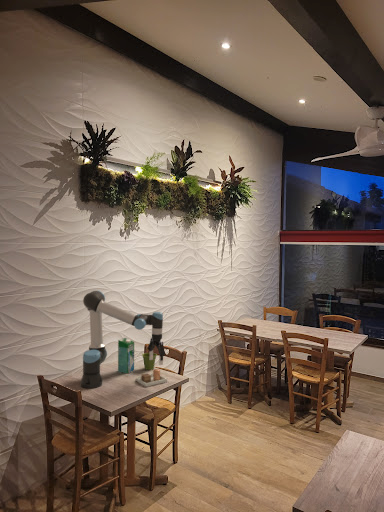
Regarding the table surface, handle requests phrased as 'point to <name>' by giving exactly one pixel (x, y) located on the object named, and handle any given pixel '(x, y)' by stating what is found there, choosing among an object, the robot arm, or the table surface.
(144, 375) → the walnut cube
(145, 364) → the plant pot
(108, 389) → the table surface
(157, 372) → the terracotta cylinder
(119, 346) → the milk carton
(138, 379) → the pale grey tray
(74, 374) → the table surface
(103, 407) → the table surface
